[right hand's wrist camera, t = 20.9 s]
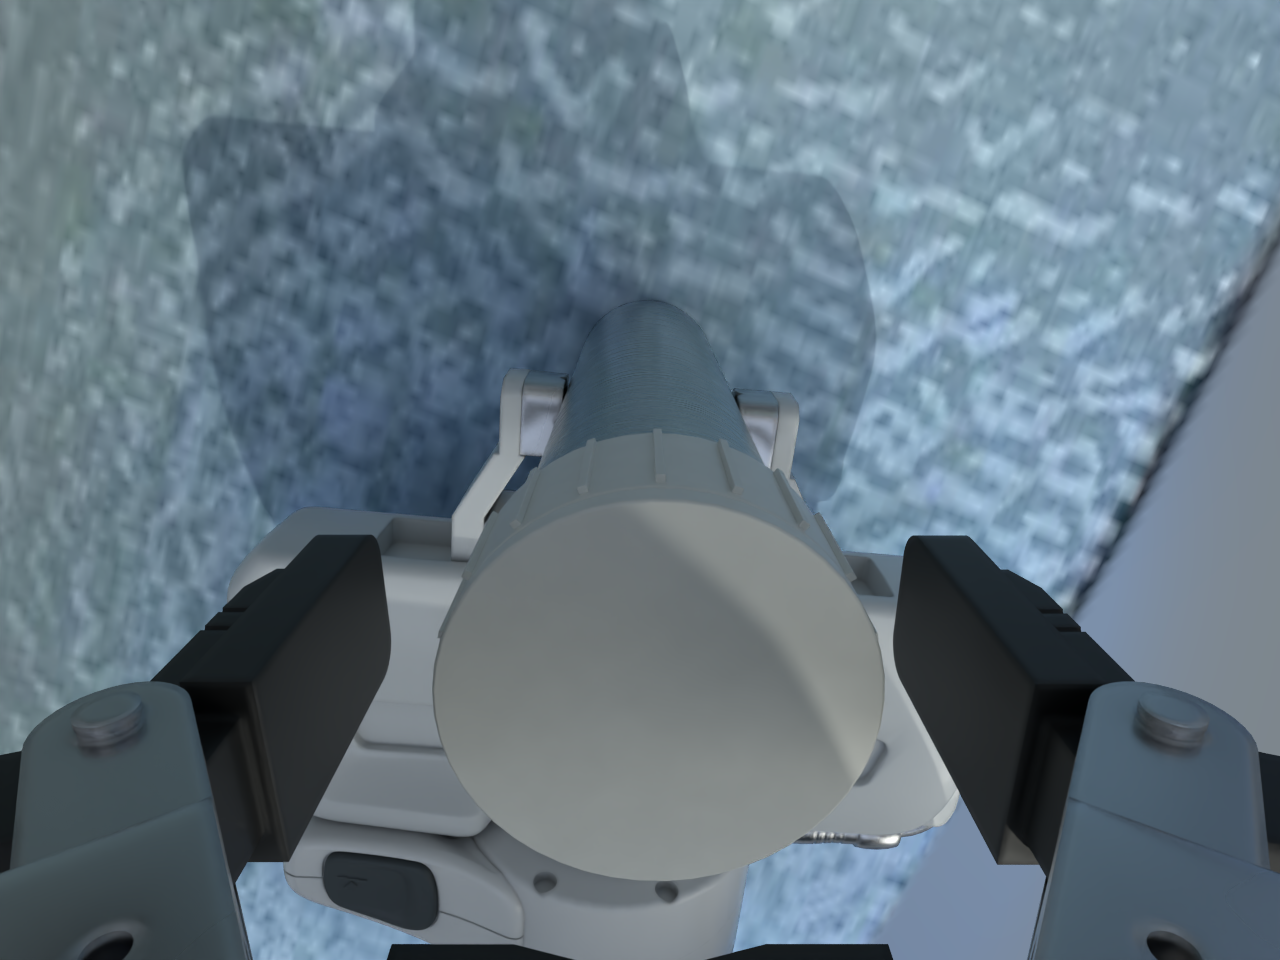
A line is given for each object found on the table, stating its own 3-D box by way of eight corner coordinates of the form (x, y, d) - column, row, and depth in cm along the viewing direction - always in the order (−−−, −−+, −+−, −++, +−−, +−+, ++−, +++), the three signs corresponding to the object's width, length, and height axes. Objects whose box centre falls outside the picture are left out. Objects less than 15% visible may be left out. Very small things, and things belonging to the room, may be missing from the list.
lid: (918, 596, 11) (990, 700, 8) (662, 812, 12) (667, 951, 10) (647, 343, 9) (648, 388, 7) (394, 613, 11) (331, 721, 9)
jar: (553, 355, 25) (398, 645, 9) (658, 271, 24) (693, 425, 8) (635, 454, 26) (627, 868, 10) (738, 377, 25) (909, 697, 9)
